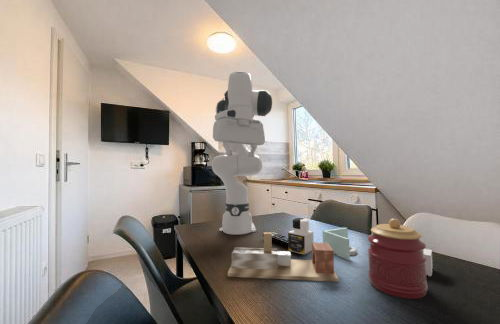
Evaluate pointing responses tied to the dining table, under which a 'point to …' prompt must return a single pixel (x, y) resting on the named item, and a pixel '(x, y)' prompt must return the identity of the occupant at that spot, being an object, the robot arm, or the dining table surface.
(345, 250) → the right angle wall
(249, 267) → the stand
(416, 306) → the dining table surface
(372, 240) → the canister
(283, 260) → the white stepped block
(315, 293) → the dining table surface
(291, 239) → the medicine bottle
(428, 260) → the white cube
